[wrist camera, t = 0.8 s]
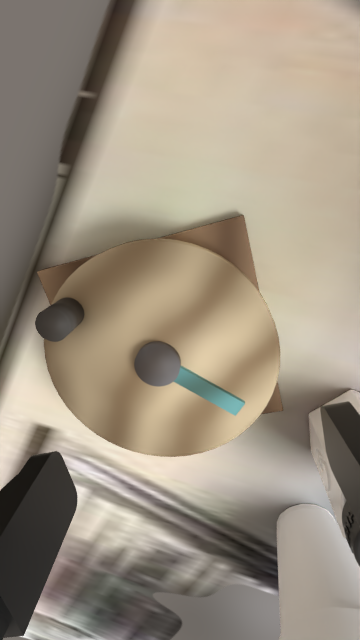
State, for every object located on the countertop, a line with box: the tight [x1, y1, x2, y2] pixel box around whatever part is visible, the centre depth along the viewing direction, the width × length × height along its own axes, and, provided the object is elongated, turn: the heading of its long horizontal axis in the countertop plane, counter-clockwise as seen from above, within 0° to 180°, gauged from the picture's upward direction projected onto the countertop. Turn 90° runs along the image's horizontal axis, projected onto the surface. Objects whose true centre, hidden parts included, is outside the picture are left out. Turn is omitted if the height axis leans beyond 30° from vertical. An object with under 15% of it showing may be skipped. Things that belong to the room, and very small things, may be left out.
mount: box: [37, 215, 283, 414], centre depth 30 cm, size 18×18×3 cm
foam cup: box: [276, 504, 360, 640], centre depth 31 cm, size 10×9×13 cm
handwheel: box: [35, 239, 280, 457], centre depth 26 cm, size 19×19×4 cm
